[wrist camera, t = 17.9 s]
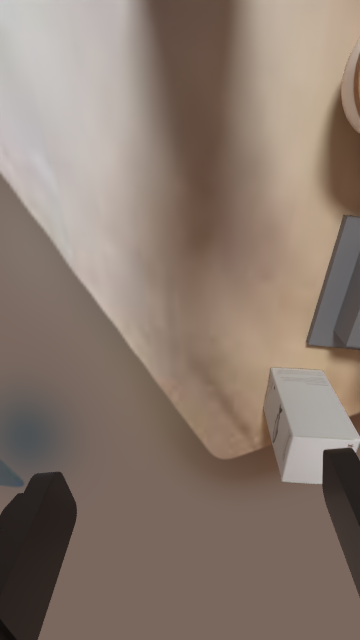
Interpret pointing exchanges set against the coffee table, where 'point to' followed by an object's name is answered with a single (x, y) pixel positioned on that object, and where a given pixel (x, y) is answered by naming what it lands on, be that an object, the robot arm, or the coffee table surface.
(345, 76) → the lidded jar
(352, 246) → the socket block
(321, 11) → the coffee table surface
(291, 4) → the coffee table surface
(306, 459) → the supplement box
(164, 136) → the coffee table surface
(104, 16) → the coffee table surface
